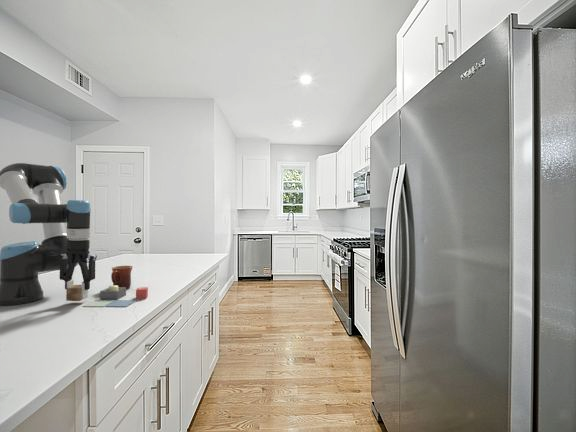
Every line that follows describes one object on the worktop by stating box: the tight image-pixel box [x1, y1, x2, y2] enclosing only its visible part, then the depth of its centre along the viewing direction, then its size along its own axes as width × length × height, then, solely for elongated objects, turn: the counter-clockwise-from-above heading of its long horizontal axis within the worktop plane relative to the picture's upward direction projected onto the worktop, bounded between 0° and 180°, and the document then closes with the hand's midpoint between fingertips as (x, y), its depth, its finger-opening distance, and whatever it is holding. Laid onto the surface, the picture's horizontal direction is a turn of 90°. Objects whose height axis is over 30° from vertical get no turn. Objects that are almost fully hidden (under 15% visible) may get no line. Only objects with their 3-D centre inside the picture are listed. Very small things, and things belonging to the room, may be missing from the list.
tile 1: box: [82, 299, 116, 308], centre depth 120 cm, size 8×8×1 cm
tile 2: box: [105, 299, 137, 308], centre depth 120 cm, size 8×8×1 cm
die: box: [135, 286, 149, 300], centre depth 129 cm, size 4×4×4 cm
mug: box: [110, 265, 133, 290], centre depth 142 cm, size 12×9×10 cm
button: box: [108, 284, 118, 291], centre depth 129 cm, size 4×4×4 cm
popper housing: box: [99, 287, 127, 301], centre depth 129 cm, size 7×7×4 cm
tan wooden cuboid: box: [65, 284, 88, 302], centre depth 120 cm, size 5×5×5 cm
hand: (77, 297), depth 120 cm, fingers closed on tan wooden cuboid, 5 cm apart
